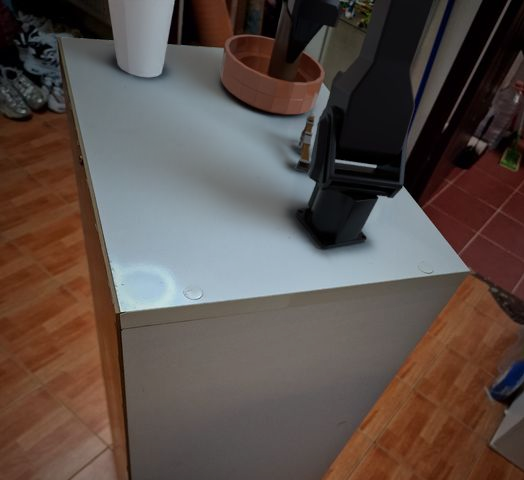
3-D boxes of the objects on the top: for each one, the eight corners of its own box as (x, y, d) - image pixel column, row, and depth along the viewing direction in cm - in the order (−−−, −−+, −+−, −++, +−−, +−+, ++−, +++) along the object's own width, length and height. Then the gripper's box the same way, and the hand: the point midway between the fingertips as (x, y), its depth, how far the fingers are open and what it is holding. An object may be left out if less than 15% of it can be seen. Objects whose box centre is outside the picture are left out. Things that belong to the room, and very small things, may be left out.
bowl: (330, 119, 68) (343, 85, 64) (246, 120, 61) (254, 82, 57) (285, 71, 75) (293, 38, 71) (204, 67, 68) (208, 30, 64)
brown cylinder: (299, 84, 67) (319, 16, 60) (275, 84, 65) (292, 13, 58) (285, 70, 69) (303, 2, 62) (262, 69, 67) (277, -1, 60)
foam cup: (179, 64, 66) (187, -45, 56) (165, 89, 61) (171, -28, 50) (116, 45, 65) (114, -71, 55) (96, 68, 59) (89, -55, 49)
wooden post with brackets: (309, 134, 61) (319, 110, 57) (302, 183, 59) (313, 163, 55) (296, 130, 61) (306, 107, 56) (290, 180, 59) (299, 159, 55)
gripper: (249, -125, 55) (228, 18, 68) (270, -88, 45) (240, 73, 57) (329, -98, 58) (295, 35, 71) (365, -58, 48) (318, 89, 60)
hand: (286, 55), depth 65 cm, fingers closed on brown cylinder, 4 cm apart
